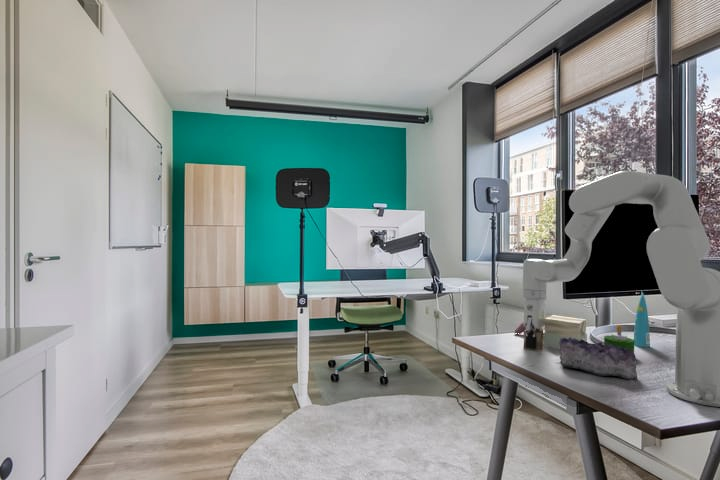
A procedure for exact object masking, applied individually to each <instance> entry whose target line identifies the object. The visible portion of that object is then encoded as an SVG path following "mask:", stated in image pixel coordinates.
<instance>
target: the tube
mask: <svg viewBox="0 0 720 480" xmlns="http://www.w3.org/2000/svg"><path fill="white" fill-rule="evenodd" d="M633 329H634V330H633V340H634V347H639V348H650V347H651V338H650V323H649V313H648V307H647V302H646V298H645V294H644V292H643V291H641V294H640V298H639V300H638V305H637V309H636V314H635V321H634V328H633Z"/></svg>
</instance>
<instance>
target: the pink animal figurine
mask: <svg viewBox="0 0 720 480" xmlns="http://www.w3.org/2000/svg"><path fill="white" fill-rule="evenodd" d="M531 327H532V326H531ZM525 330H526V327H525V326H524V321H523V322H521V323H520V325H518V326H517V327H516V329H514V335H515V336H519V335H521V334H522V333H524V331H525ZM541 330H543V331H544V329H543V327H541ZM515 333H517V334H515ZM518 333H519V334H518Z"/></svg>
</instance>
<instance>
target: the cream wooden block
mask: <svg viewBox="0 0 720 480" xmlns="http://www.w3.org/2000/svg"><path fill="white" fill-rule="evenodd" d="M544 332H545V333H551V334H557V335H563V336H569V337H575V338H580V337H582V336H583V335H584V334H586V333H587V319H585V318H577V317H572V316H563V315H556V314H552V315H549V316H547V317H545V325H544Z"/></svg>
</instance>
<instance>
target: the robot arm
mask: <svg viewBox="0 0 720 480" xmlns="http://www.w3.org/2000/svg"><path fill="white" fill-rule="evenodd" d="M622 204H633V205H635V204H637V205H651V206H652V209H653V210H652V211H653V217H654V221H655V224H656V225H657V228H655V229H654V231H652V232H651V233H650V235H649V236H648V239H647V241H646V254H647V256H648V260H649V263H650V265H651V268H652V271H653V274H654V277H655V279H656V283H657V286H658V289H659V291H660V293H661V295H662V296H663V299H665V301H666V302H667V303H668V304H670V305H671V306H673V307H675V308H677V312H676V321H675V322H676V323H675V324H676V325H675V327H676V329H675V353H674V355H675V356H674V360H675V361H674V363H675V364H674V365H675V366H674V382H669V383H667V384H666V390H667V392H669V394H671V395H673V396H674V397H677V398H679V399H682V400H685V401H687V402H691V403H693V404H698V405H703V406H709V407H716V408H720V271H718V270H716V269H714V268H709V267H703V265H702V262H701V261H702V260H704V259H705V258H706V257H707V256H708V255H709V253H710V252H711V251H710V250H711V243H710V239H709V237H708V235H707V233H706V230H705V227H704V226H703V223H702V221H701V218H700V215H699V213H698V210H697V209H696V207H695V204H694V202H693V199H692V197H691V194H690V192H689V190H688V188H687V186H686V185H685V184H684V182H682V181H681V180H680V179H678V178H676V177H674V176H671V175H665V174H658V173H648V172H641V171H635V170H623V171H618V172H615V173H613V174H609V175H606V176H604V177H602V178H599V179H597V180H594V181H591V182H588V183H586V184H584V185H581V186H580V187H578V188H576V189H575V190H574V191H573V192H571V195H570V196H569V200H568V206H569V209H570V210H571V211H572V212H573V214H572V217H571V218H570V220H569V221H568V222H567V224H566V225H565V228H564V232H565V234H566V235H567V236H568V238H569V239H570V244H569V248H568V250H567V252H566V253H565V255H564V256H563V257H562V258H561V259H560V258H559V259H547V260H545V259H541V258H528V259H524V260H523V262H522V264H523V265H522V274H523V275H522V298H523V299H524V307H523V308H524V309H523V322H524V326H525V327H526V347H527V348H532V349H536V337H535V335H536V330H541V328H543V327H545V318H546V304H545V302H546V301H545V300H547V283H548V284H549V283H550V284H551V283H553V284H554V283H565V282H570V281H573V280H575V279H576V278H577V277H578V276H579V275H580V274H581V272H582V271H583V269H584V268H585V266H587V264H588V262H589V261H590V257H591V253H592V248H593V247H592V246H593V245H592V244H593V241H594V239H595V238H596V236H597V234H598V233H599V232H600V230H601V228H602V227H603V225H604V224H605V222H606V221H607V220H608V218H609V216H610V215H611V213H612V212H613V210H614V209H615V207H616V206H618V205H622ZM531 326H532V327H531ZM531 329H532V330H533V331H532V330H531ZM527 348H526V349H527ZM532 349H531V350H532Z"/></svg>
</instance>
